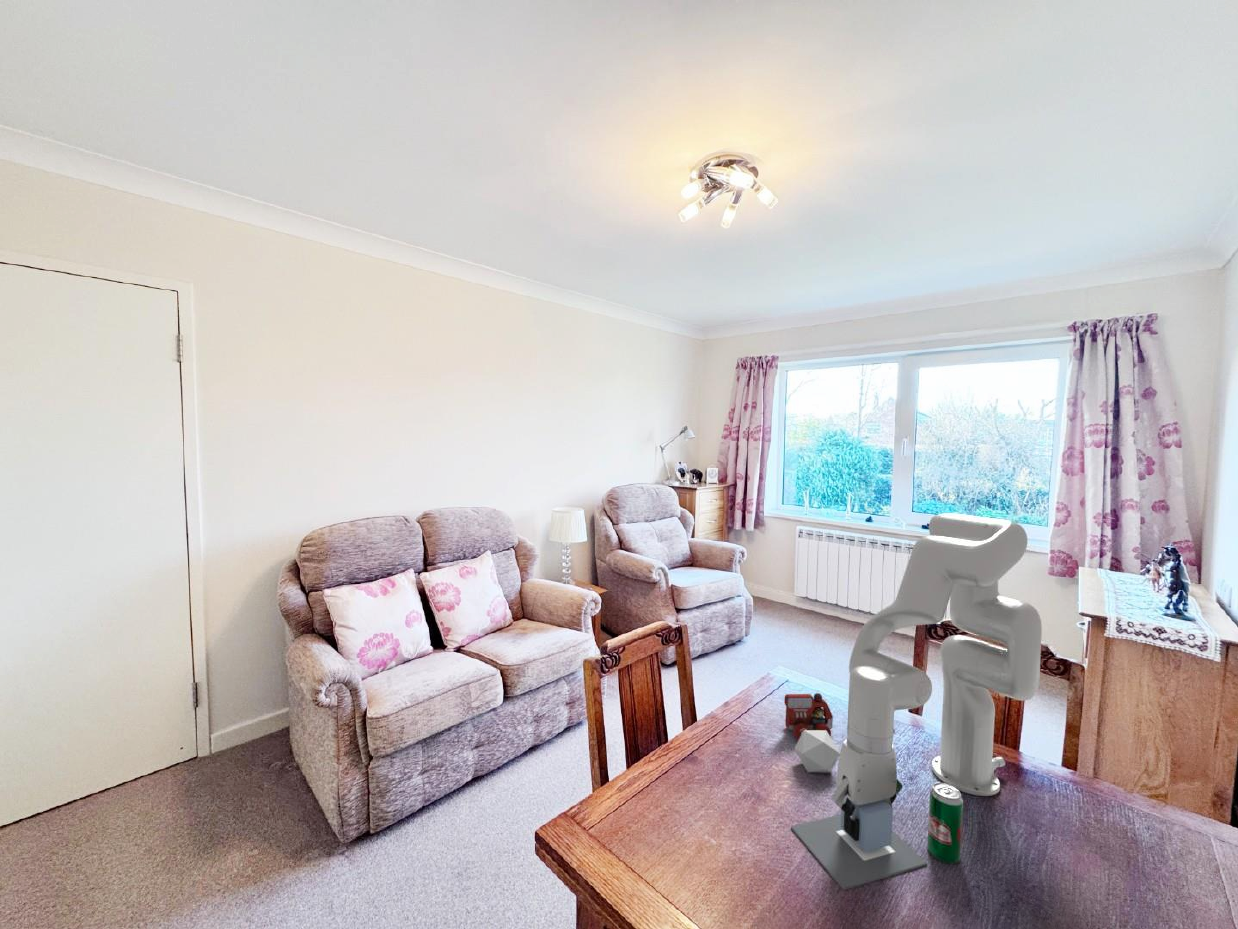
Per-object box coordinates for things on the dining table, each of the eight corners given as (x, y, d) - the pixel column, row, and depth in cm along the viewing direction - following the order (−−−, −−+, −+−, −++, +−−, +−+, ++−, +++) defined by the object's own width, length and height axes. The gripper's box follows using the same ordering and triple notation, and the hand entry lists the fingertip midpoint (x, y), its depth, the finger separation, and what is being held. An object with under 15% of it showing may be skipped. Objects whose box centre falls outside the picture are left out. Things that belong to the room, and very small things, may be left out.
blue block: (866, 821, 98) (867, 786, 98) (891, 845, 92) (892, 808, 92) (840, 828, 96) (841, 792, 96) (864, 852, 91) (866, 814, 90)
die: (833, 790, 110) (852, 746, 113) (796, 765, 111) (815, 722, 114) (818, 779, 118) (836, 738, 121) (783, 756, 119) (802, 716, 122)
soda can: (920, 848, 94) (923, 785, 93) (939, 840, 96) (942, 778, 95) (948, 869, 89) (951, 803, 88) (966, 860, 91) (970, 796, 90)
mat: (866, 809, 103) (866, 807, 103) (927, 865, 90) (927, 862, 90) (791, 828, 98) (791, 826, 98) (843, 890, 84) (843, 887, 84)
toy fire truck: (838, 742, 127) (839, 701, 126) (789, 743, 126) (791, 702, 125) (825, 726, 134) (826, 687, 133) (779, 727, 133) (780, 688, 132)
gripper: (890, 719, 100) (886, 808, 100) (816, 733, 94) (813, 826, 95) (923, 741, 92) (919, 836, 93) (845, 757, 87) (842, 858, 88)
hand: (865, 830), depth 94 cm, fingers closed on blue block, 5 cm apart
